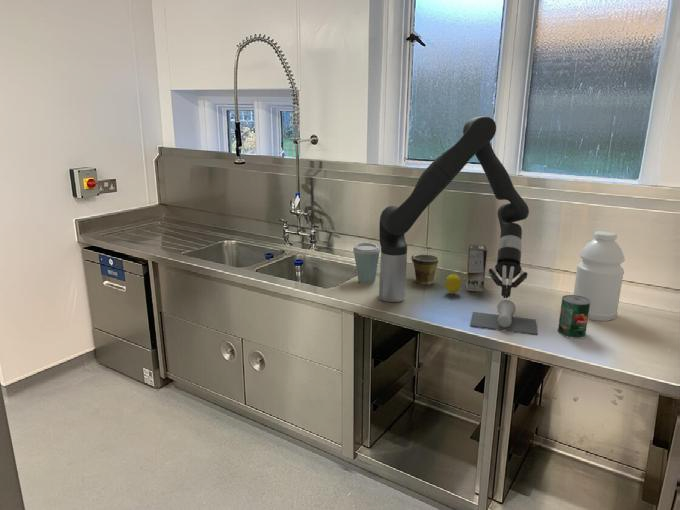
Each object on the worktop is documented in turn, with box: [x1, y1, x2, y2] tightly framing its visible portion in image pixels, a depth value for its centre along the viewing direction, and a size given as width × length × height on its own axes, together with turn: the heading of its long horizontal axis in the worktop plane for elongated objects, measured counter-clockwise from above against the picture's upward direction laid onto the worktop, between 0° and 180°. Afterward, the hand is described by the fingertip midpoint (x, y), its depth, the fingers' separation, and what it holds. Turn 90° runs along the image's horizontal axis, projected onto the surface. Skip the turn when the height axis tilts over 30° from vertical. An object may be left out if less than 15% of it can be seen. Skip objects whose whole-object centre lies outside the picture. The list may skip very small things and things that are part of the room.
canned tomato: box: [557, 294, 590, 339], centre depth 159 cm, size 8×8×11 cm
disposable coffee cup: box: [352, 241, 381, 285], centre depth 204 cm, size 11×11×15 cm
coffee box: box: [465, 244, 488, 293], centre depth 199 cm, size 9×6×16 cm
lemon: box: [445, 273, 462, 295], centre depth 192 cm, size 6×6×8 cm
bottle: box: [573, 230, 626, 322], centre depth 172 cm, size 14×14×28 cm
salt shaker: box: [496, 299, 517, 328], centre depth 167 cm, size 6×6×13 cm
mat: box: [469, 311, 538, 336], centre depth 167 cm, size 12×20×1 cm, turn 72°
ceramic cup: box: [411, 253, 439, 286], centre depth 207 cm, size 13×10×10 cm
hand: (505, 297), depth 170 cm, fingers closed
